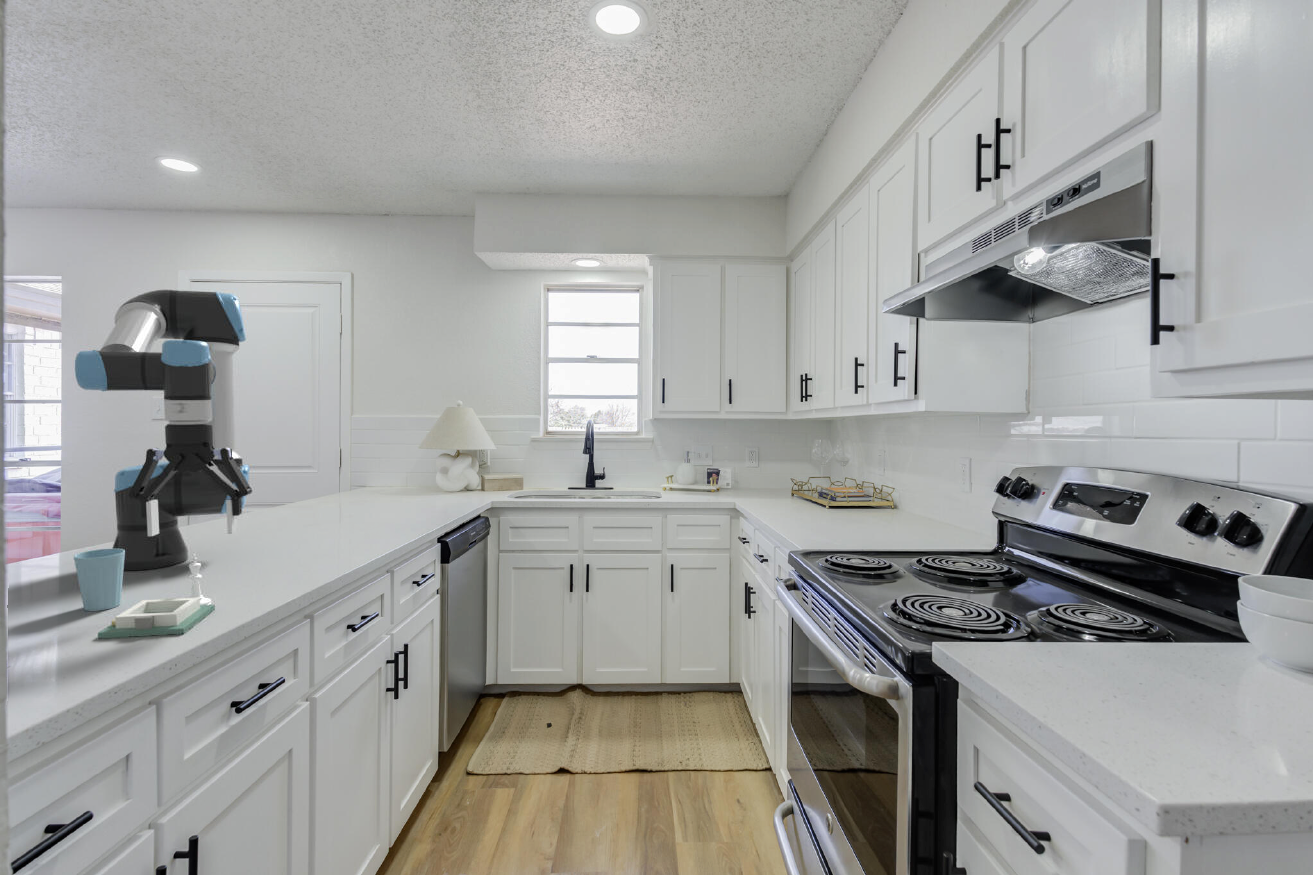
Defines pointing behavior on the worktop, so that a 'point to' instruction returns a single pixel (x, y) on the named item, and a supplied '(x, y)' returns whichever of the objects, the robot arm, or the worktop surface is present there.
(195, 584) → the chess piece
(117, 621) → the header board
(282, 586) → the worktop surface
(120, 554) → the cup
